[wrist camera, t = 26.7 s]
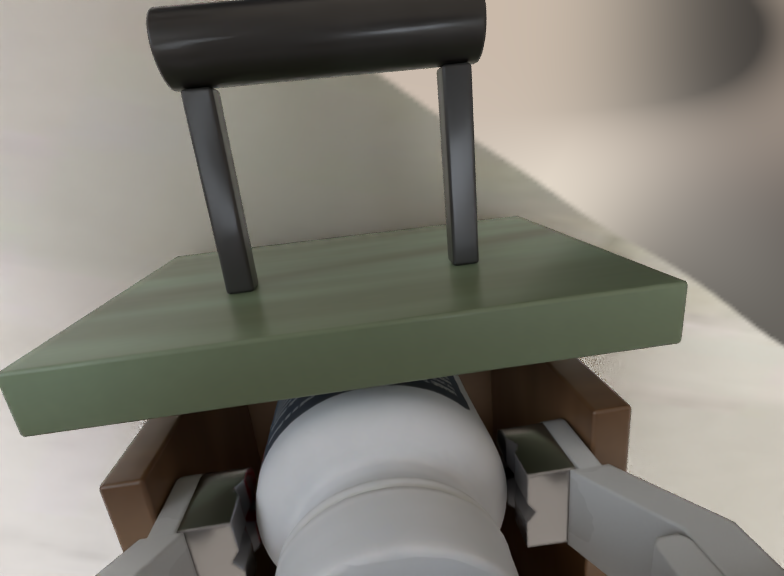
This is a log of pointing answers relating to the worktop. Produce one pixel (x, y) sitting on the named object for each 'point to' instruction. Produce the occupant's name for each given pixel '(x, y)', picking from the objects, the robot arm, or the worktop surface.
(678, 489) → the worktop surface
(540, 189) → the worktop surface
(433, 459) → the pill bottle
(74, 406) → the drawer
